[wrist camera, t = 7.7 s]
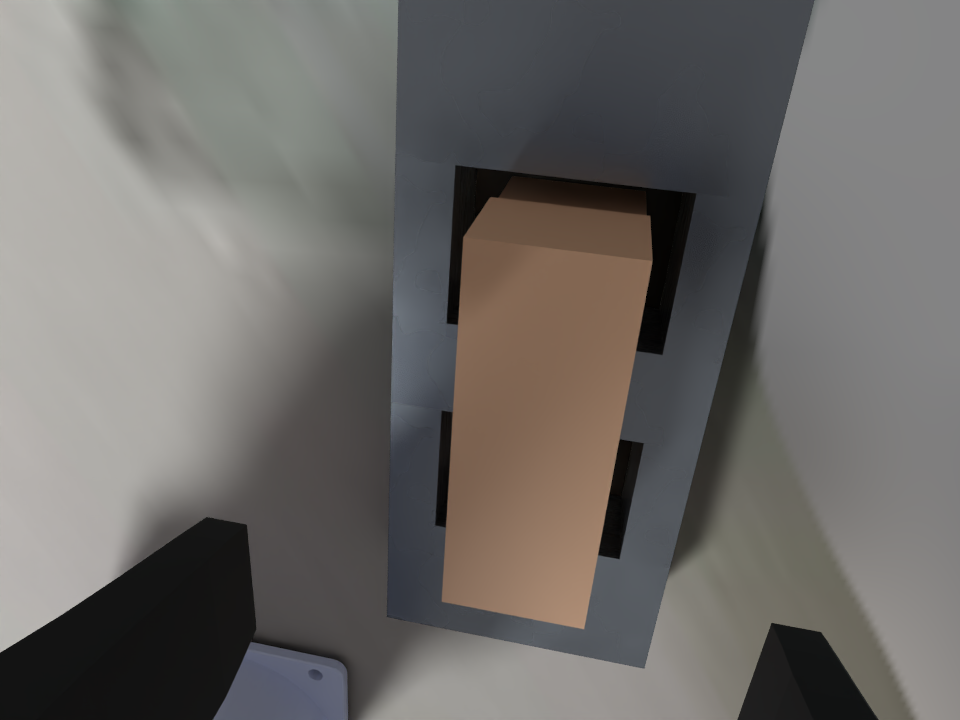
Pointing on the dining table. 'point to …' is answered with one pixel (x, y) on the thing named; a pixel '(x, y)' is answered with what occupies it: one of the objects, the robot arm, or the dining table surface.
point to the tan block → (541, 392)
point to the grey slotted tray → (592, 157)
